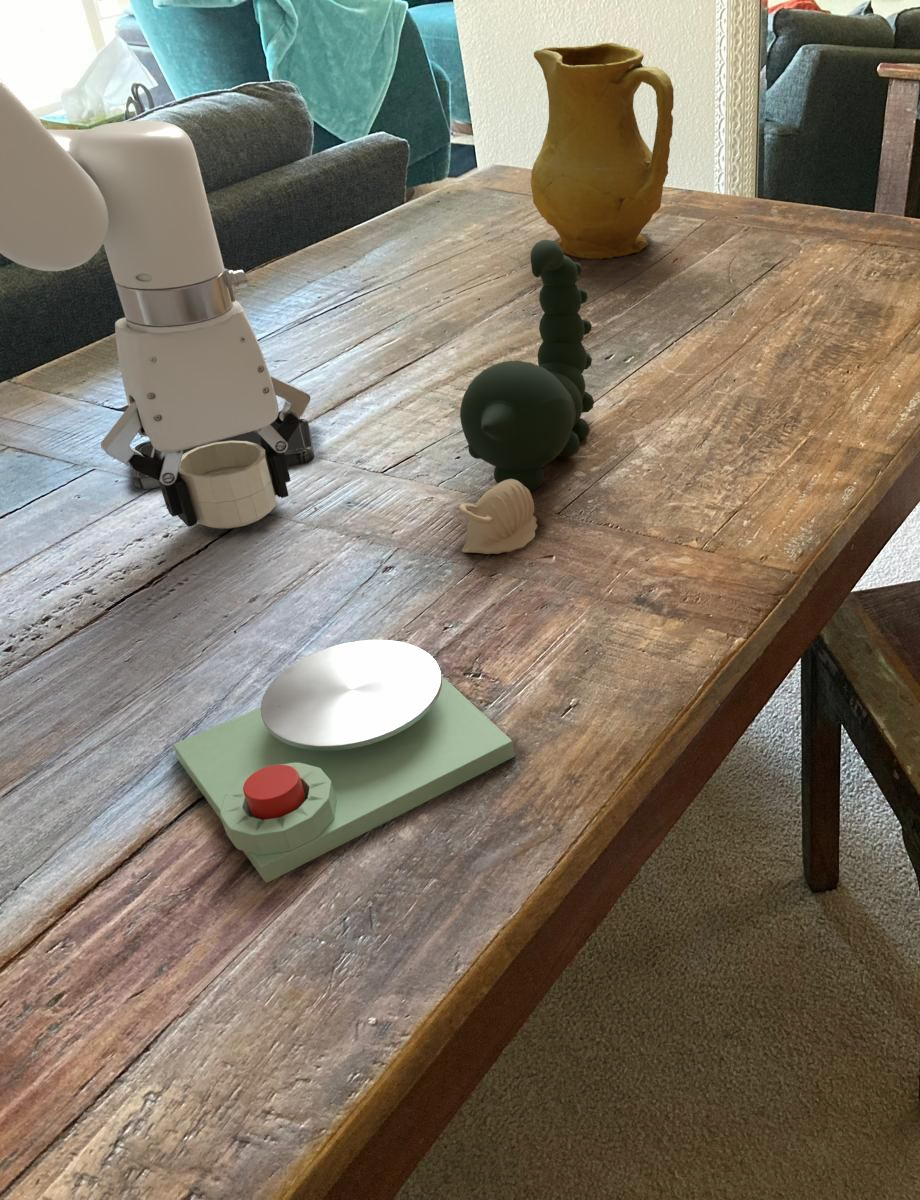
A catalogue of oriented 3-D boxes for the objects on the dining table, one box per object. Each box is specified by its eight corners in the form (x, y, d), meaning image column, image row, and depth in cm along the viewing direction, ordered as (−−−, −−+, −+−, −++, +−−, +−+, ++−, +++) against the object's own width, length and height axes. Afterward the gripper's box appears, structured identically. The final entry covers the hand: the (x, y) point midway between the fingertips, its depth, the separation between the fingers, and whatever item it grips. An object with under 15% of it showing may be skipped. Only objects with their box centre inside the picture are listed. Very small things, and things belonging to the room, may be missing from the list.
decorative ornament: (553, 527, 100) (545, 470, 97) (485, 574, 94) (474, 514, 91) (515, 515, 102) (507, 459, 99) (446, 560, 96) (435, 501, 93)
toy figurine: (531, 417, 122) (441, 519, 100) (512, 226, 113) (408, 292, 91) (622, 422, 121) (551, 525, 99) (610, 229, 112) (529, 297, 90)
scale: (258, 889, 67) (244, 850, 65) (171, 764, 75) (157, 727, 74) (515, 757, 76) (509, 721, 74) (411, 660, 85) (404, 625, 83)
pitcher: (616, 215, 174) (601, 28, 159) (696, 252, 163) (689, 55, 148) (513, 243, 164) (488, 47, 149) (591, 284, 154) (572, 78, 138)
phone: (312, 450, 109) (130, 479, 104) (315, 462, 110) (134, 491, 105) (307, 416, 115) (135, 442, 110) (309, 427, 116) (139, 453, 111)
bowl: (208, 541, 96) (192, 485, 94) (179, 510, 101) (162, 456, 98) (291, 514, 100) (278, 460, 98) (259, 485, 105) (246, 433, 102)
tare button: (262, 827, 67) (255, 807, 66) (241, 800, 69) (234, 780, 68) (313, 803, 69) (307, 782, 68) (292, 776, 71) (286, 756, 70)
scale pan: (306, 776, 70) (304, 771, 70) (234, 690, 77) (233, 685, 77) (473, 698, 76) (472, 693, 76) (394, 624, 83) (392, 620, 83)
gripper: (270, 263, 98) (315, 460, 107) (36, 309, 88) (108, 521, 98) (309, 287, 93) (352, 490, 103) (66, 338, 83) (138, 557, 93)
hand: (232, 504), depth 100 cm, fingers closed on bowl, 6 cm apart
